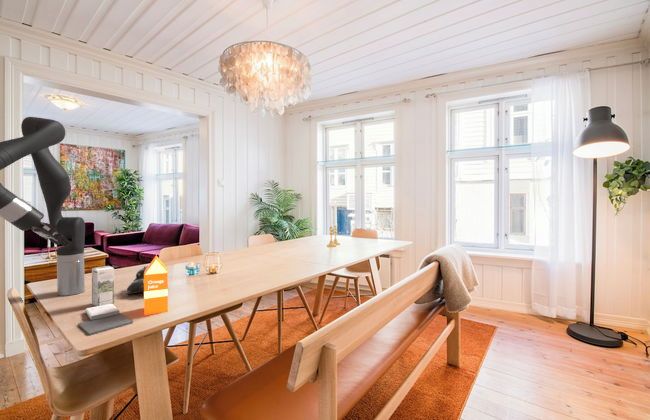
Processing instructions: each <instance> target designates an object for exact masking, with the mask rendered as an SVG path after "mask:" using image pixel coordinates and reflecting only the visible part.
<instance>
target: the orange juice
mask: <svg viewBox="0 0 650 420" xmlns="http://www.w3.org/2000/svg"><path fill="white" fill-rule="evenodd" d="M147 266H148V267H147V269H146V270H145V272H144V292H143V302H144V304H143V305H144V307H143V309H144V311H143V312H144V316H148V315H155V314H162V313H163V314H164V313H168V310H169V308H168V307H169V306H168V304H169V302H168V301H169V299H168V298H169V292H168V291H169V290H168V285H169V284H168V282H169V281H168V279H169V277H168V274H169V272H168V268H167V267H166V265H165V264H164V263H163V261H162V260H161V259H160V258H159V257H158V256H157V255H155V256H154V257H153V259H152V261H151V262H150V263H149V265H147Z"/></svg>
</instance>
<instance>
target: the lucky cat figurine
mask: <svg viewBox="0 0 650 420" xmlns="http://www.w3.org/2000/svg"><path fill="white" fill-rule="evenodd" d="M148 266H149V265H147V266H144V267H142V268H141V269H139V270H137V272H136V274H135V279H134V280H133V281H132V282H131V283H130V284H129V286H127V289H126V292H124V294H125V295H128V296H129V295H132V294H133V295H134V294H137V293H138V294H139V293H144V272H145V270H146V269H147V267H148Z"/></svg>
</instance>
